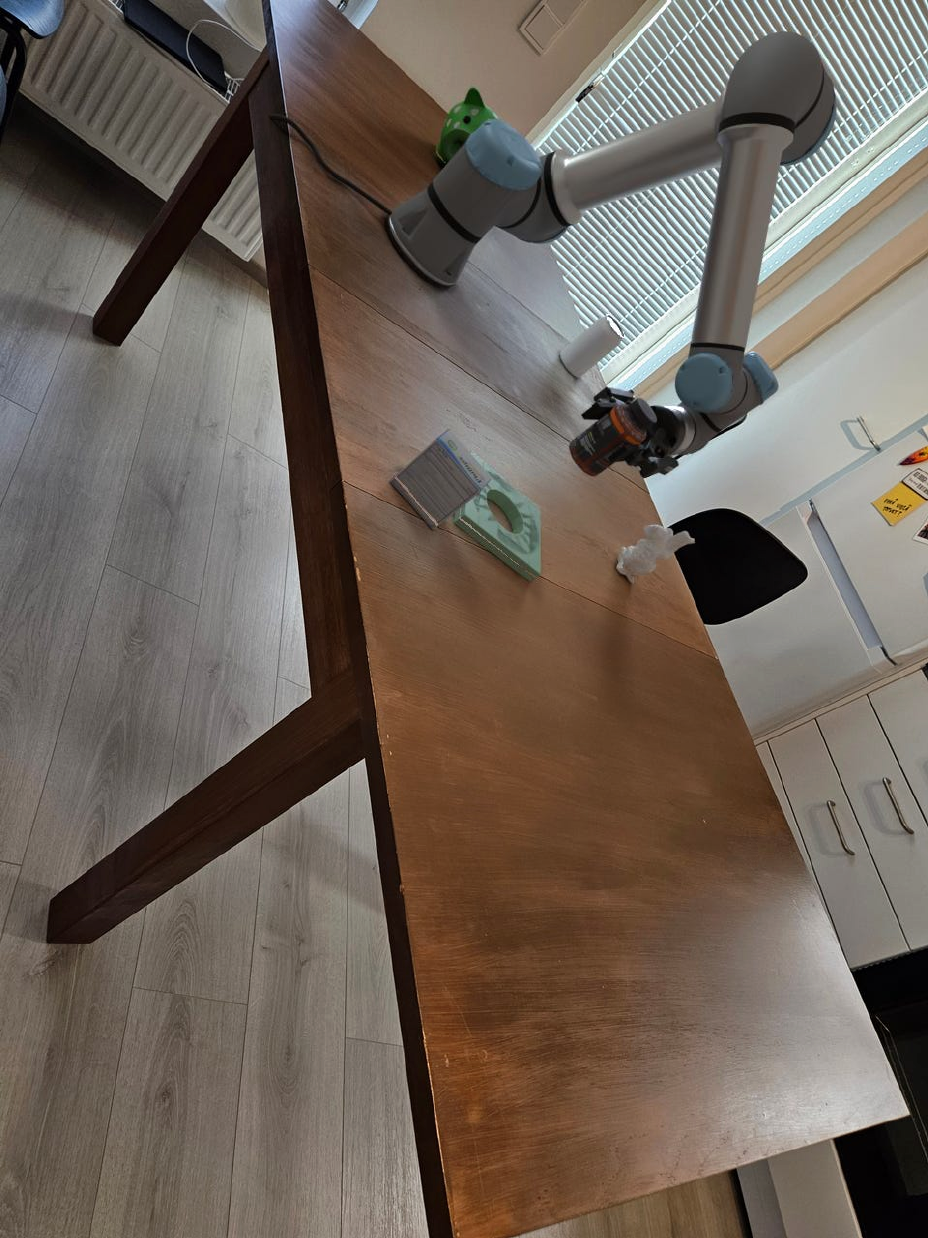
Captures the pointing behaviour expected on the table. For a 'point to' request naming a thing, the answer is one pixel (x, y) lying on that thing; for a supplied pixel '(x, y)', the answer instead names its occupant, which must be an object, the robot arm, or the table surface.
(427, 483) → the medicine box
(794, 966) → the table surface
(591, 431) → the supplement bottle
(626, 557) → the koala figurine
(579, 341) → the can
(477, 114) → the piggy bank
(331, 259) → the table surface
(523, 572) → the socket pad
